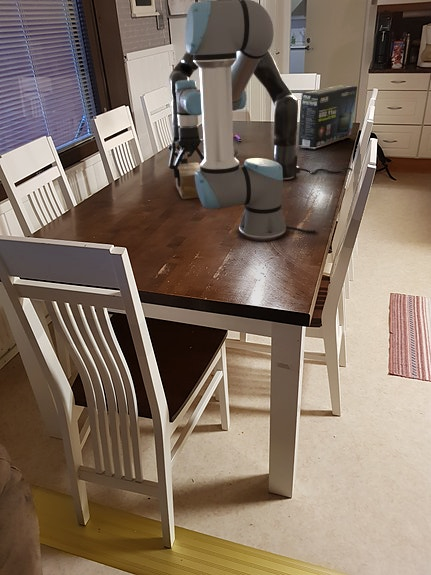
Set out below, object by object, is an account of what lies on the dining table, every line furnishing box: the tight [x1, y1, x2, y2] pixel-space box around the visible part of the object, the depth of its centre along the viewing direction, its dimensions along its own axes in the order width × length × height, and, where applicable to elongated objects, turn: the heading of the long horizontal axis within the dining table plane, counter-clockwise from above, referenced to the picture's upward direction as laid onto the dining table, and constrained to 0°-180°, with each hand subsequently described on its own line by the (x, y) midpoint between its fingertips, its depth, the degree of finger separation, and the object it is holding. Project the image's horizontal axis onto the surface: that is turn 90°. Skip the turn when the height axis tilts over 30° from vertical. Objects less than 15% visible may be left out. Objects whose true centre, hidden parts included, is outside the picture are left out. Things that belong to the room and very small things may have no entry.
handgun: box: [233, 134, 243, 143], centre depth 259 cm, size 21×8×2 cm, turn 11°
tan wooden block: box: [175, 162, 200, 200], centre depth 184 cm, size 16×10×9 cm, turn 13°
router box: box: [297, 84, 358, 151], centre depth 238 cm, size 36×11×27 cm, turn 134°
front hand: (192, 184), depth 181 cm, fingers closed on tan wooden block, 10 cm apart
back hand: (184, 167), depth 195 cm, fingers closed
